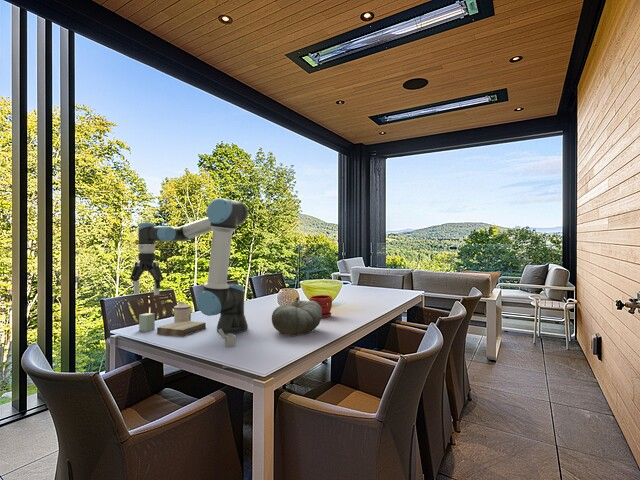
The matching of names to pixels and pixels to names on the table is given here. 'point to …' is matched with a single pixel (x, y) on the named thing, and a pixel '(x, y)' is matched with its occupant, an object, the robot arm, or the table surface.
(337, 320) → the table surface
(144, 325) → the sage pillar block
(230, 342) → the lighter
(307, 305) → the gourd
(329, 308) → the plant pot
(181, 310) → the teacup with lid
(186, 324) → the walnut base
